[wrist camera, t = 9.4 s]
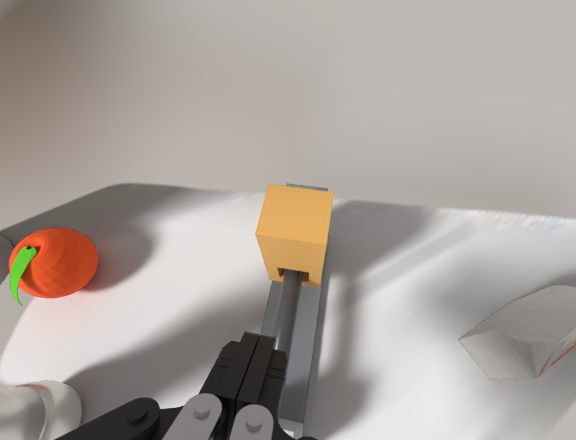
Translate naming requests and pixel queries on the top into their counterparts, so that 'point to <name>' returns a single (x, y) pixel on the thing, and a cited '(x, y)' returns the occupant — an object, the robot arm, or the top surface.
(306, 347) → the gray horizontal rod stand
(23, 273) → the clementine
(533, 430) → the top surface
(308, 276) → the sleeve
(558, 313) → the milk carton
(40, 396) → the plastic bottle
